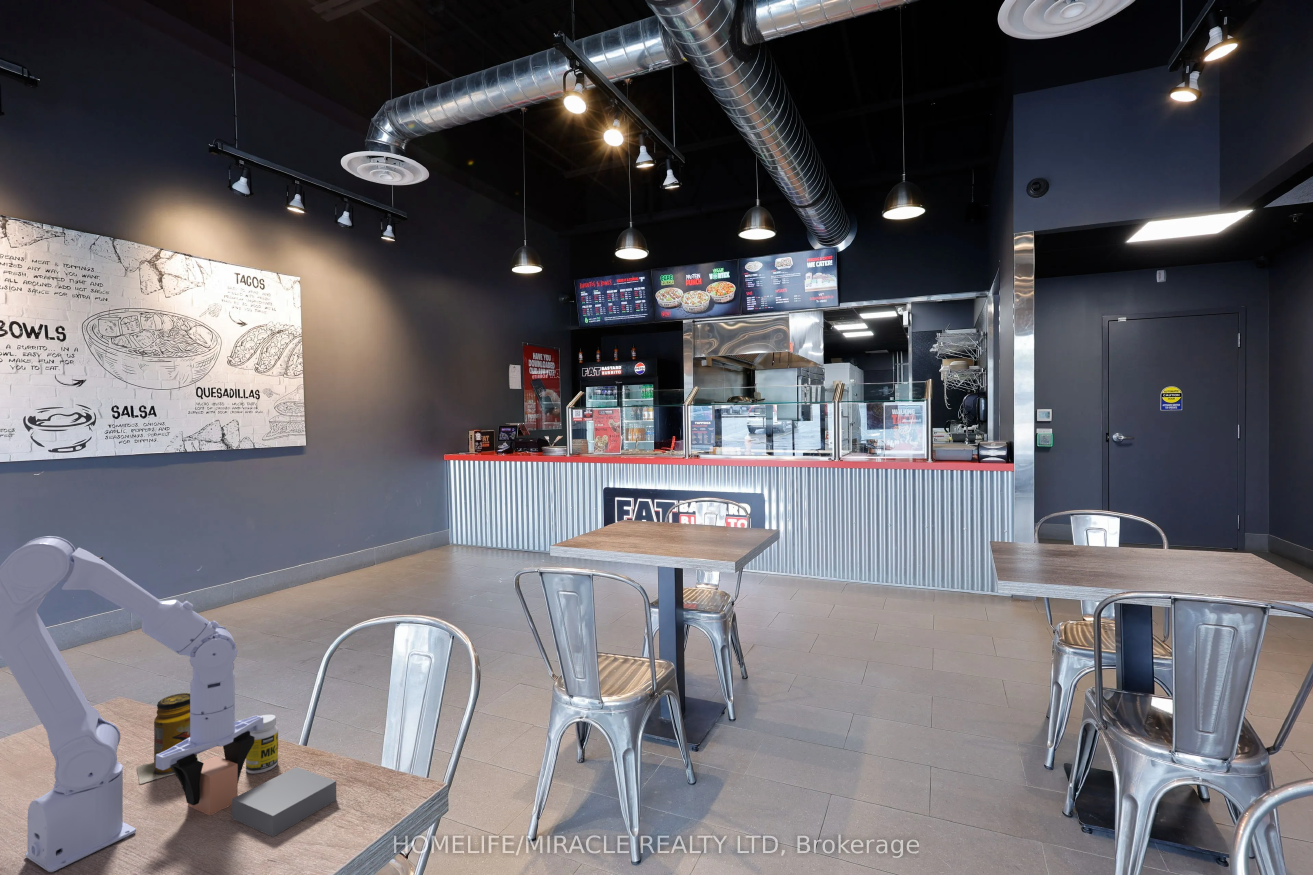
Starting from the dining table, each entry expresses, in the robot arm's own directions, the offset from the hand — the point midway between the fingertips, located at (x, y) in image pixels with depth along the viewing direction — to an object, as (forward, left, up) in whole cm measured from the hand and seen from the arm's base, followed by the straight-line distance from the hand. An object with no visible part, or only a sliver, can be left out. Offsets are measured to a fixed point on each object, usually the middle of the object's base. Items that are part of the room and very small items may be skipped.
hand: (212, 792), depth 95 cm
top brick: (0, 0, -2) cm, 2 cm away
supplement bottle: (+10, +4, -2) cm, 11 cm away
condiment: (+3, +19, -2) cm, 19 cm away
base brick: (+4, -12, -2) cm, 13 cm away
